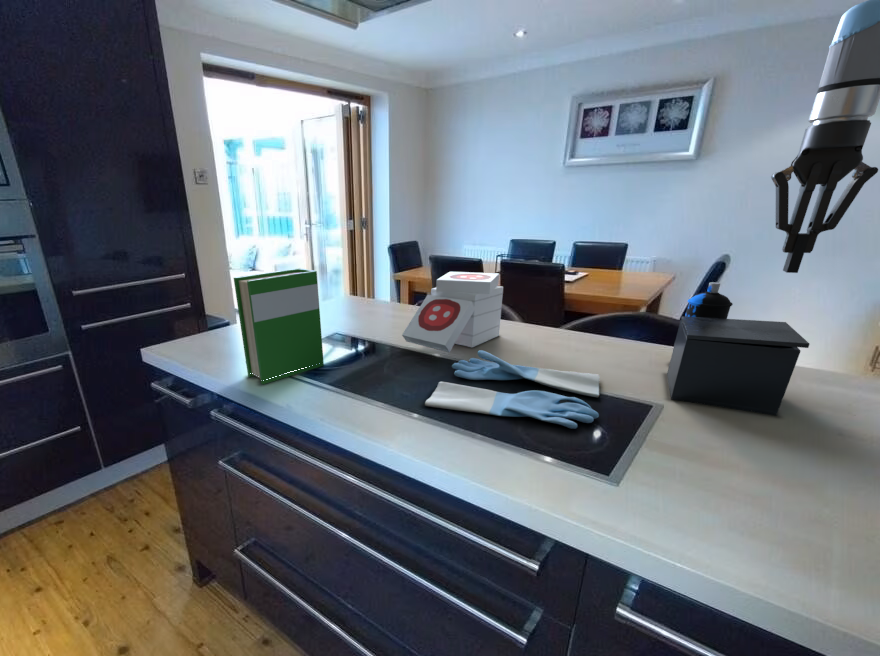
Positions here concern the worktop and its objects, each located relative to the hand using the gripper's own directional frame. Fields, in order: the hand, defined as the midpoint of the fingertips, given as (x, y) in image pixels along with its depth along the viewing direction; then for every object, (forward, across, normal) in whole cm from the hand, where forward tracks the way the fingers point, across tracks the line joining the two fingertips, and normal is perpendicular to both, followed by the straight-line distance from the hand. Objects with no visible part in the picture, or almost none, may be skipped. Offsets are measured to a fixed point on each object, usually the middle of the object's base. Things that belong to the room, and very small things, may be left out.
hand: (790, 271), depth 80 cm
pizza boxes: (+25, +66, -12) cm, 72 cm away
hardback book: (+24, +96, +29) cm, 104 cm away
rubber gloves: (+25, +42, +18) cm, 52 cm away
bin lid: (+12, +5, 0) cm, 13 cm away
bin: (+25, +6, 0) cm, 26 cm away
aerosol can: (+25, +8, -15) cm, 31 cm away
